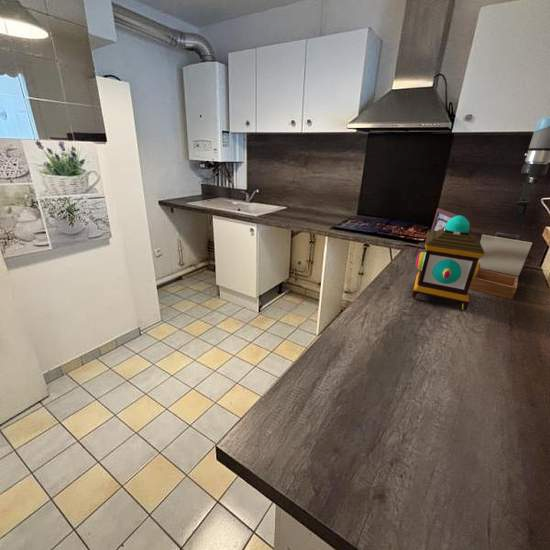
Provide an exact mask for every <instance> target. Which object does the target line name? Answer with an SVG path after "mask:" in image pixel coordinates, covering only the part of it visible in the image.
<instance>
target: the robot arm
mask: <svg viewBox="0 0 550 550" xmlns="http://www.w3.org/2000/svg"><path fill="white" fill-rule="evenodd" d="M524 157H525V158H524V162H525V163H524V164H522V167H521V171H520V173H521V175H527V176H526V178H524V179H523V182H522V187H521V195H520V196H519V198H518V199H519V200H518V201H516V203H515V205H516V209H515V211H514V213H513V218H512V223H522V221H523V218H524V215H525V213H526V209H527V207H528V205H529V202H530V200H531V198H530V197H531V195H532V193H533V191H534V190H535V187H536V185H537V184H538V179H537V176H545V175H546V174H547V172H548V169H549V166H550V165H549V164H550V116H544V117H541V118H539V120H538V121H537V123H536V126H535V128H534V130H533V133H532V137H531V140H530V144H529V146H528V150H527V152H526V153H525V154H524Z"/></svg>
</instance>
